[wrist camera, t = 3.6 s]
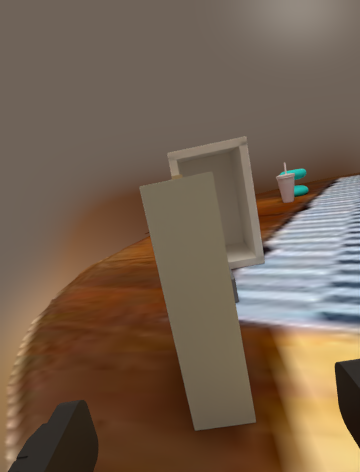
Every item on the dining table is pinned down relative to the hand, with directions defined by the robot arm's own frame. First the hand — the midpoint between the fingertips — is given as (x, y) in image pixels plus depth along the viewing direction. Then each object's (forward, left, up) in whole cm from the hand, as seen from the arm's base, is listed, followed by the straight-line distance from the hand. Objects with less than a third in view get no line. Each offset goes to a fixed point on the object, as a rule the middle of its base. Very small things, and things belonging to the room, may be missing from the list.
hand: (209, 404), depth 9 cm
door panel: (0, -13, -9) cm, 16 cm away
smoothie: (-34, -97, -9) cm, 103 cm away
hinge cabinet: (-3, -37, -9) cm, 38 cm away
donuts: (-41, -110, -9) cm, 117 cm away
